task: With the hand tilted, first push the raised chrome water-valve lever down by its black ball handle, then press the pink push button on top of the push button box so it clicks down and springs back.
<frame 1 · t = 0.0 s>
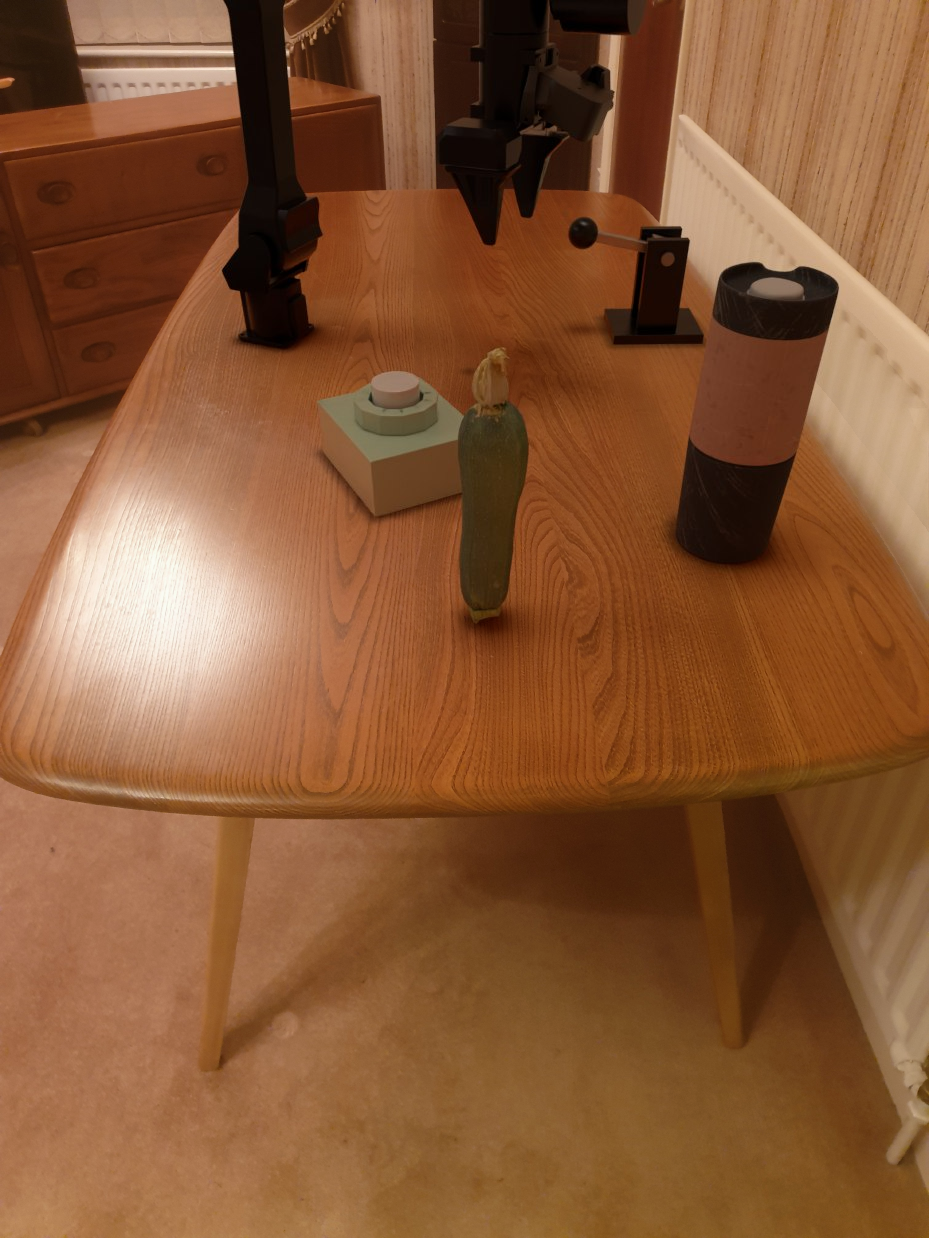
hand: (508, 230, 81), 15 cm above the table, tool pointing down, fingers open, 9 cm apart
vegetable: (489, 615, 61), on the table
valve lever: (622, 241, 93), point 10 cm above the table, hinge at 12.0°
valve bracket: (651, 331, 100), on the table
push button box: (400, 469, 76), on the table
travel mug: (720, 539, 68), on the table
pink push button: (395, 391, 72), point 7 cm above the table, slide at 0.1 cm
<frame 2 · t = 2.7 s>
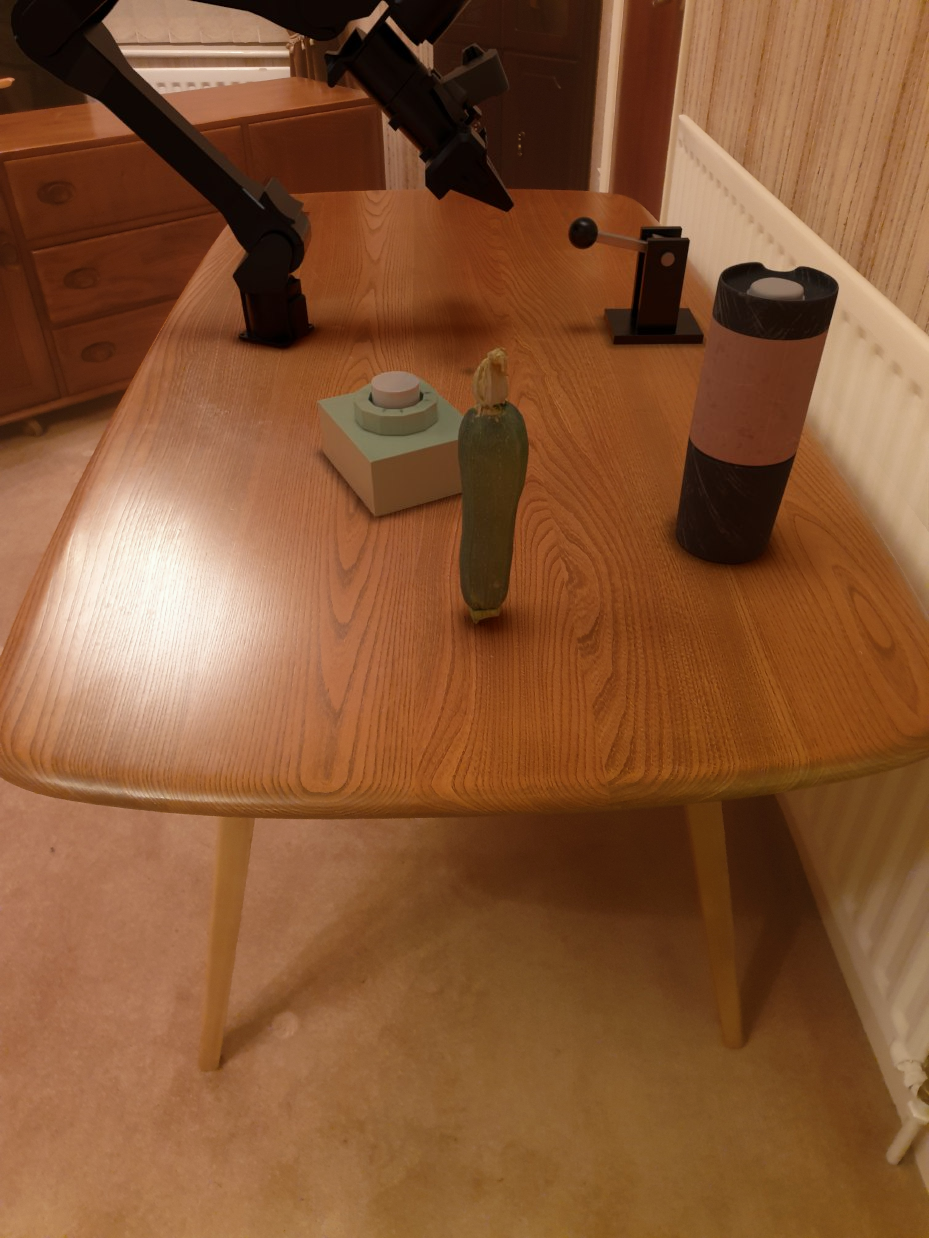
hand: (510, 208, 91), 13 cm above the table, tool tilted 45°, fingers closed
nothing on the table moved.
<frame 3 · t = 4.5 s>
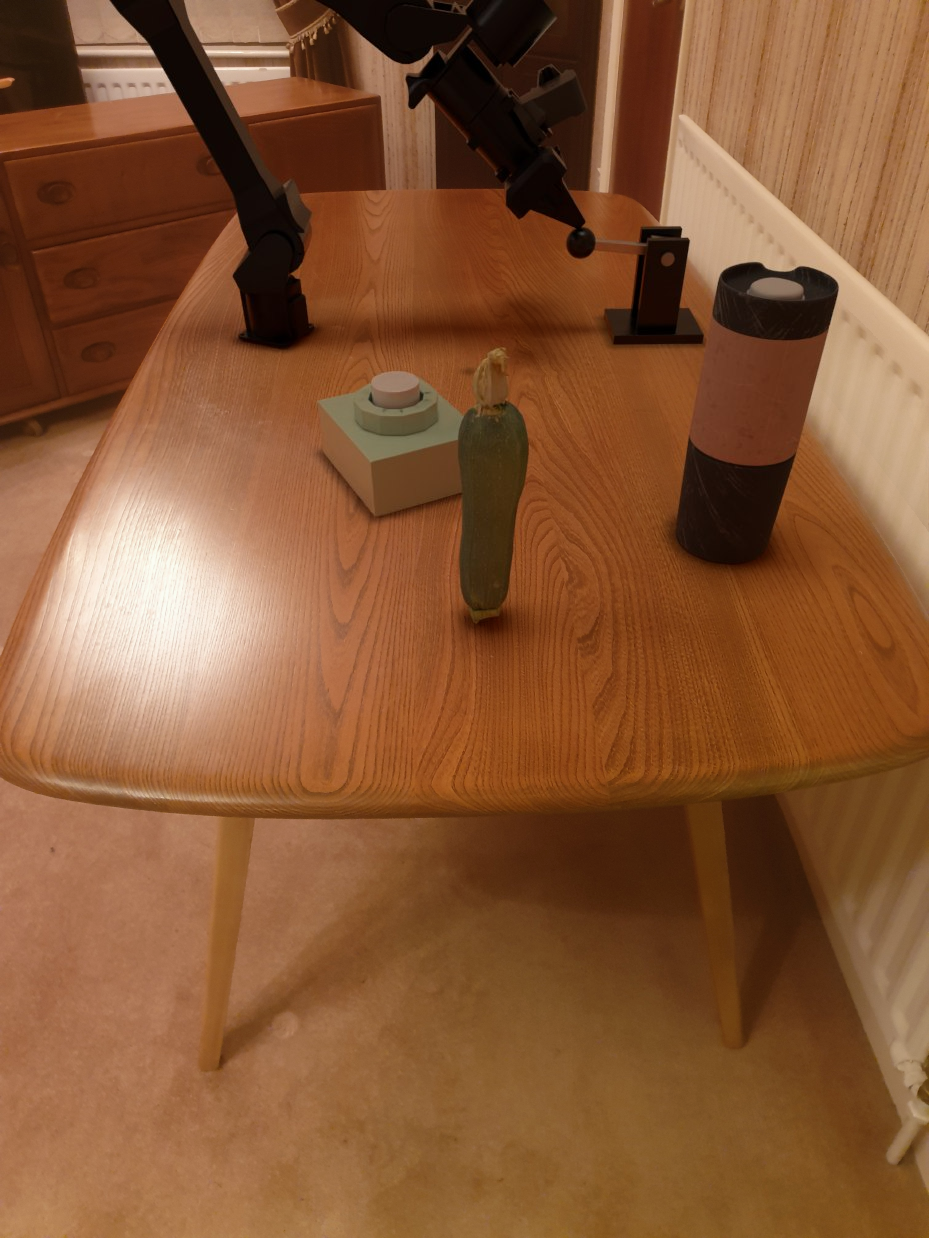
hand: (582, 225, 92), 12 cm above the table, tool tilted 45°, fingers closed
valve lever: (621, 246, 94), point 9 cm above the table, hinge at 5.5°, touching gripper
everything else where it was.
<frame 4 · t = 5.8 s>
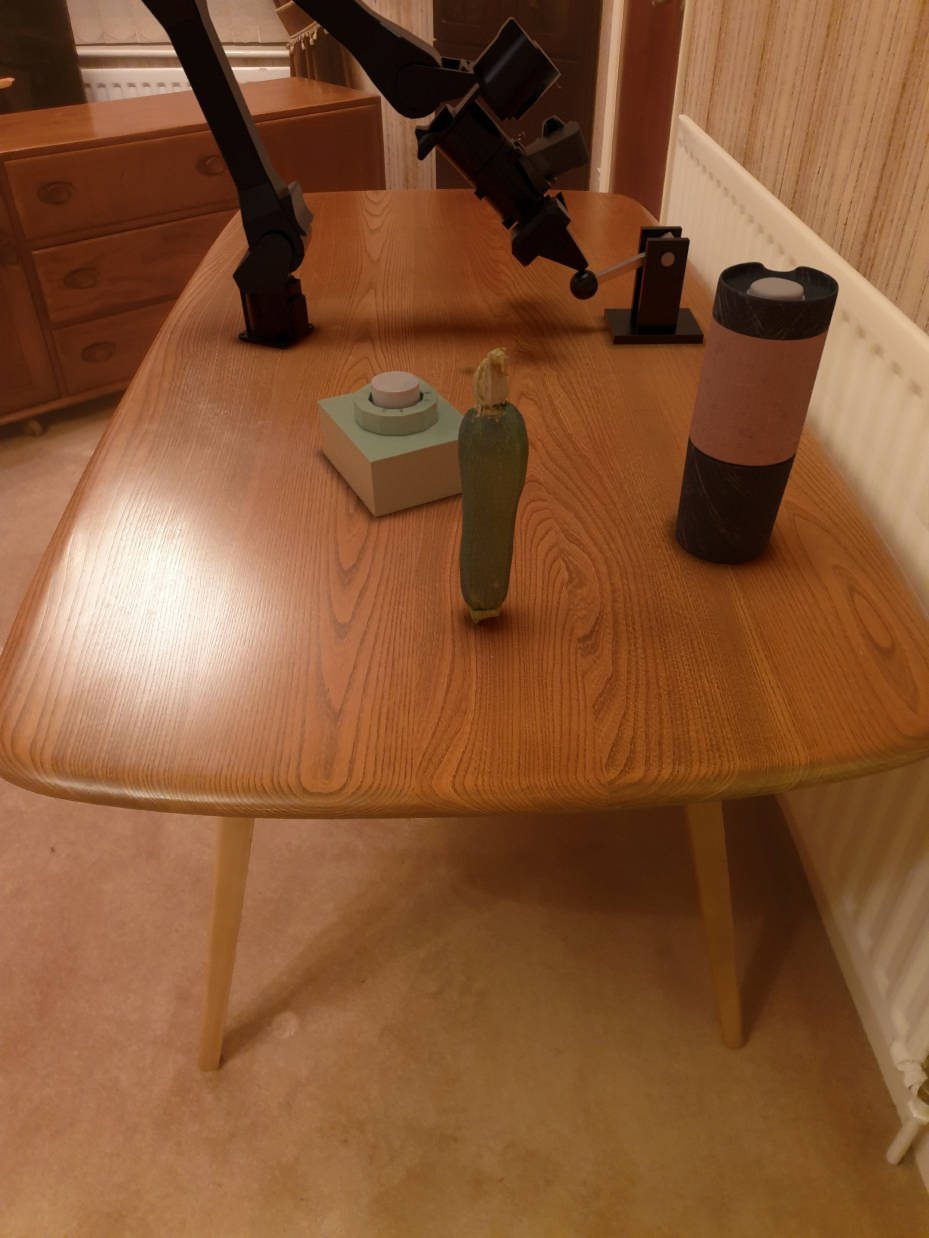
hand: (585, 267, 95), 7 cm above the table, tool tilted 45°, fingers closed, pressing on valve lever
valve lever: (621, 268, 95), point 7 cm above the table, hinge at -23.6°, touching gripper
everything else where it was.
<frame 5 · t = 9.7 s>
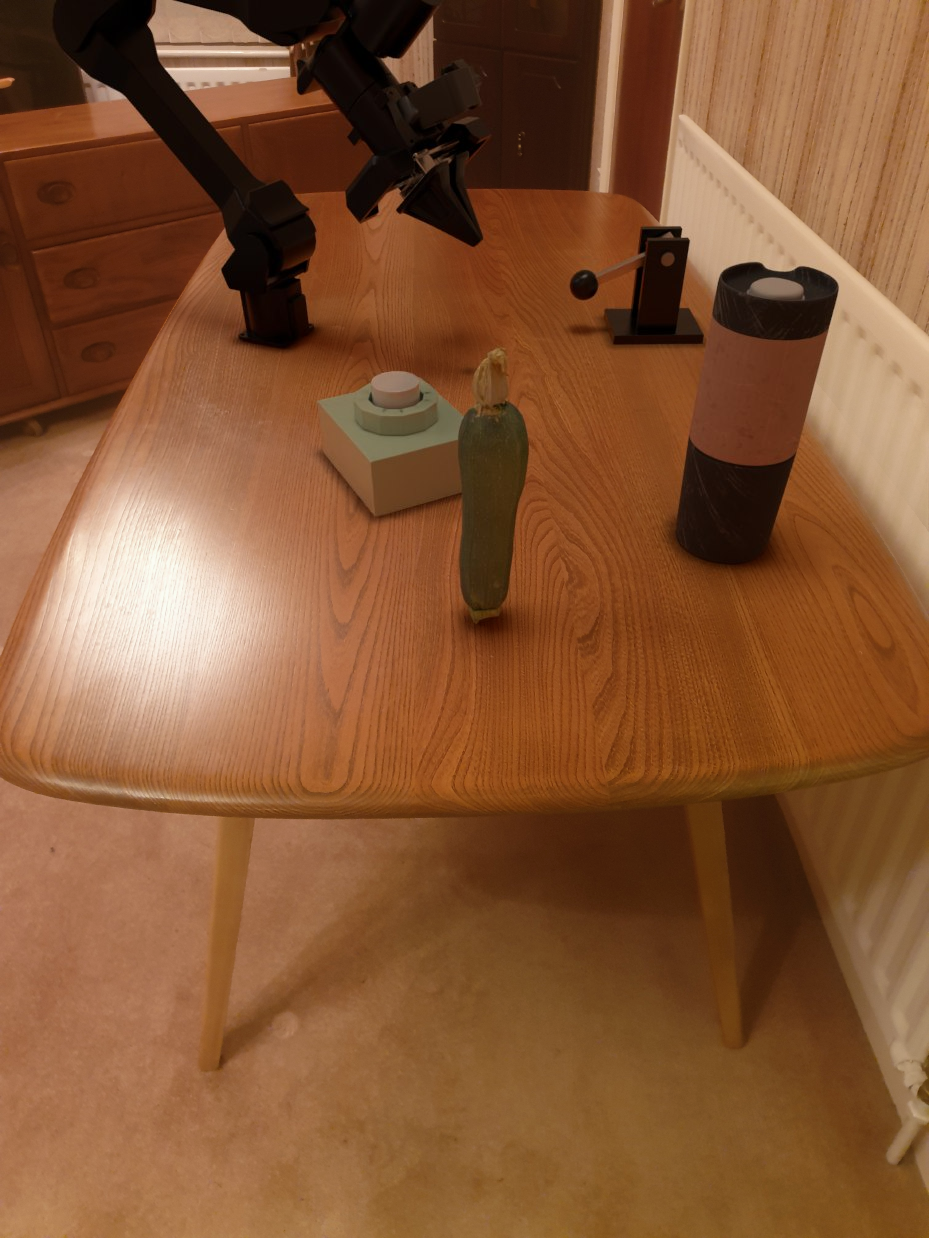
hand: (478, 243, 82), 14 cm above the table, tool tilted 45°, fingers closed
valve lever: (622, 268, 95), point 7 cm above the table, hinge at -23.8°
everything else where it was.
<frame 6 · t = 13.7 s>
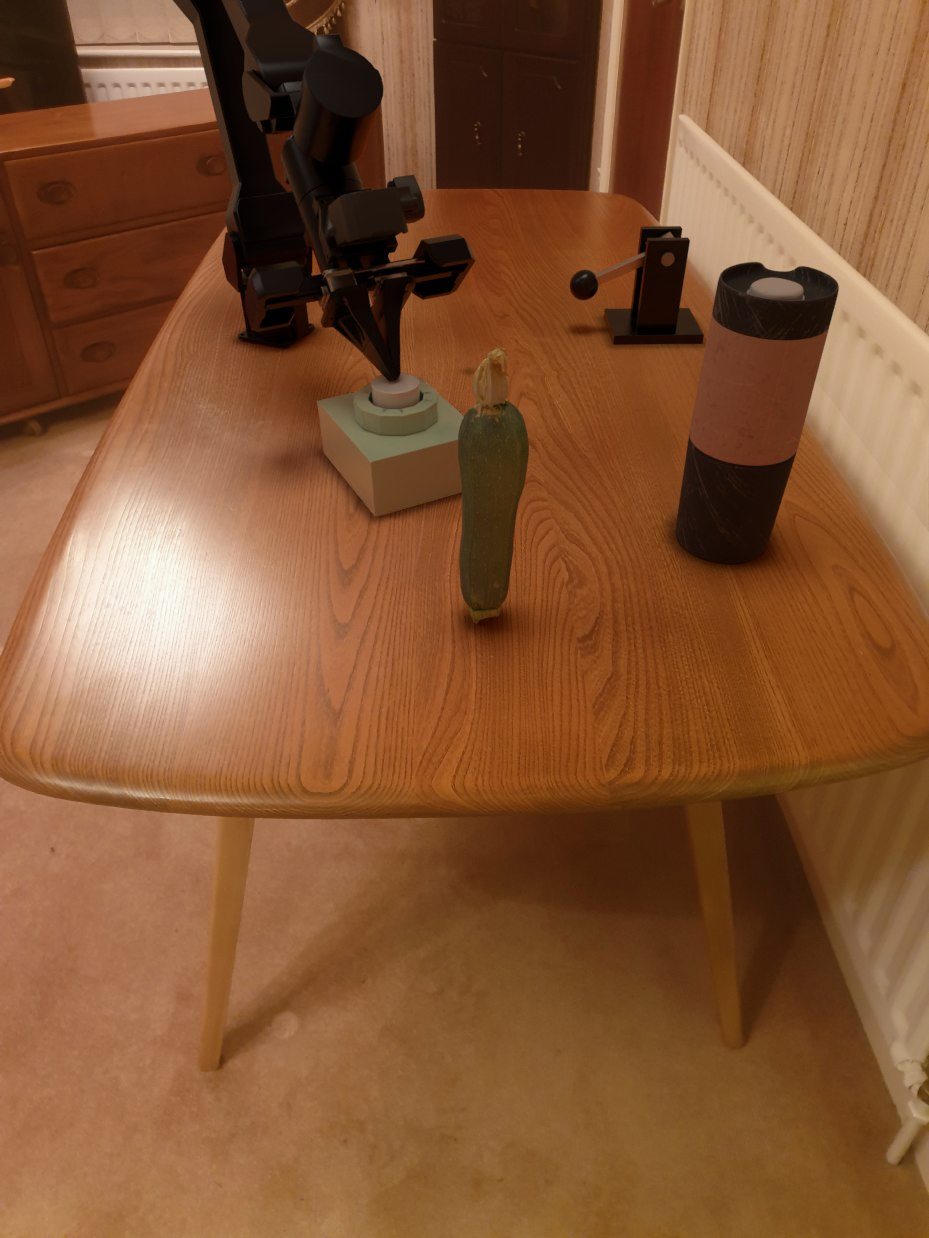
hand: (394, 378, 71), 9 cm above the table, tool tilted 45°, fingers closed, pressing on pink push button
pink push button: (395, 392, 72), point 7 cm above the table, slide at 0.0 cm, touching gripper
everything else where it was.
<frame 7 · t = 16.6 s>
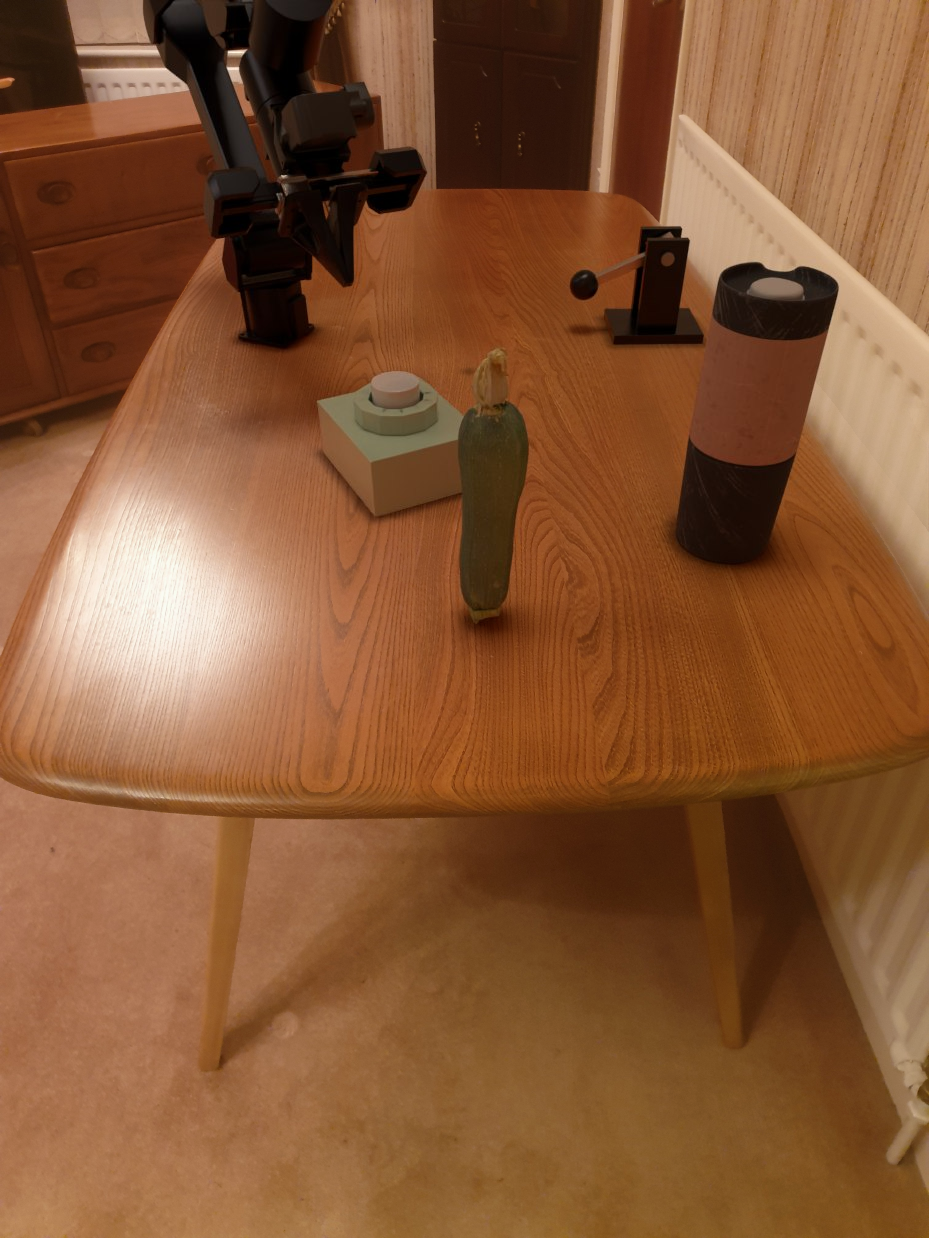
hand: (348, 284, 74), 13 cm above the table, tool tilted 45°, fingers closed
pink push button: (395, 391, 72), point 7 cm above the table, slide at 0.1 cm
everything else where it was.
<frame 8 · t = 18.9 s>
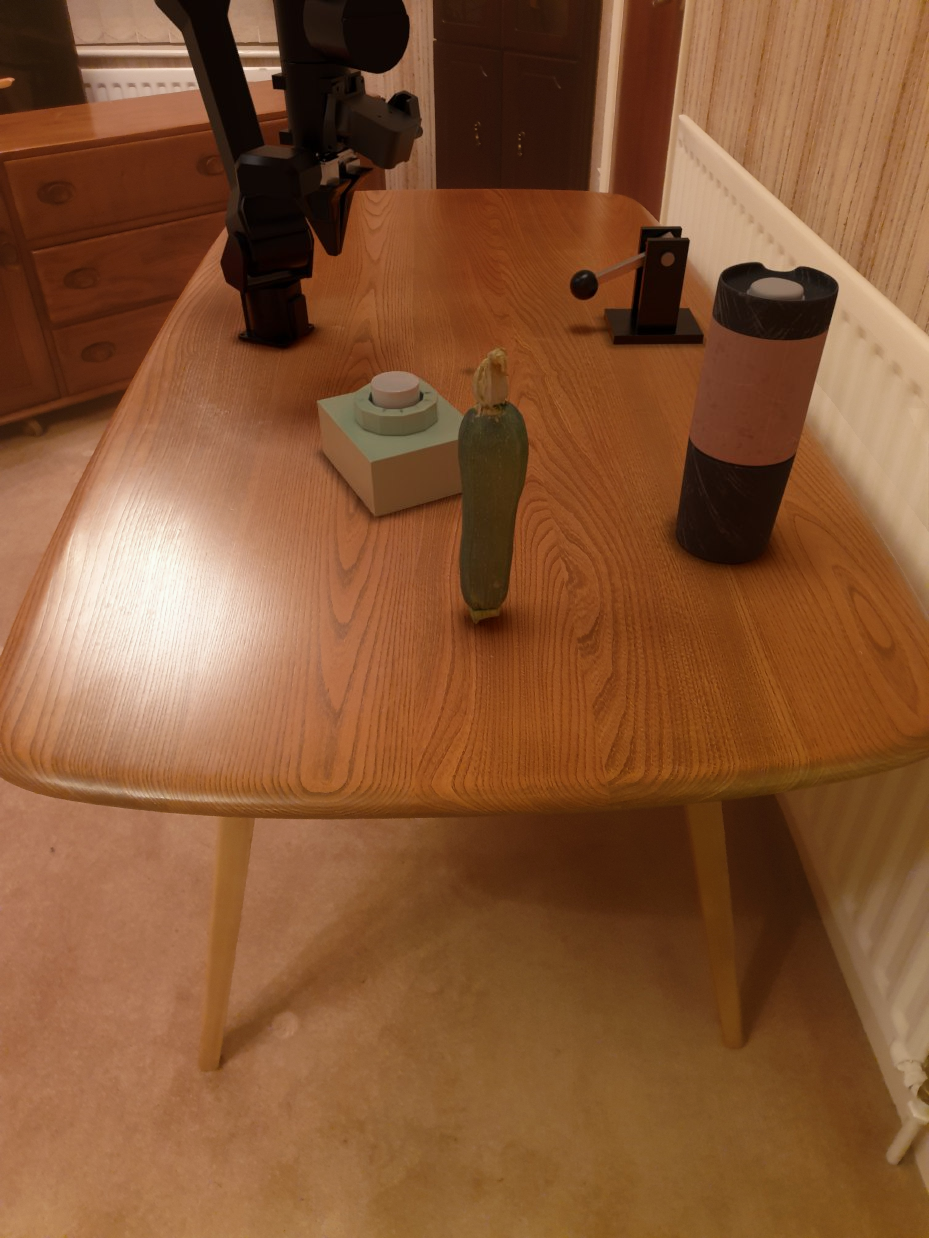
hand: (334, 255, 81), 13 cm above the table, tool pointing down, fingers closed
nothing on the table moved.
at the end: valve lever at -24° (first picture: +12°); pink push button pushed in 1.3 cm at the most during the clip, back to where it started at the end; pink push button slide at 0.1 cm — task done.
